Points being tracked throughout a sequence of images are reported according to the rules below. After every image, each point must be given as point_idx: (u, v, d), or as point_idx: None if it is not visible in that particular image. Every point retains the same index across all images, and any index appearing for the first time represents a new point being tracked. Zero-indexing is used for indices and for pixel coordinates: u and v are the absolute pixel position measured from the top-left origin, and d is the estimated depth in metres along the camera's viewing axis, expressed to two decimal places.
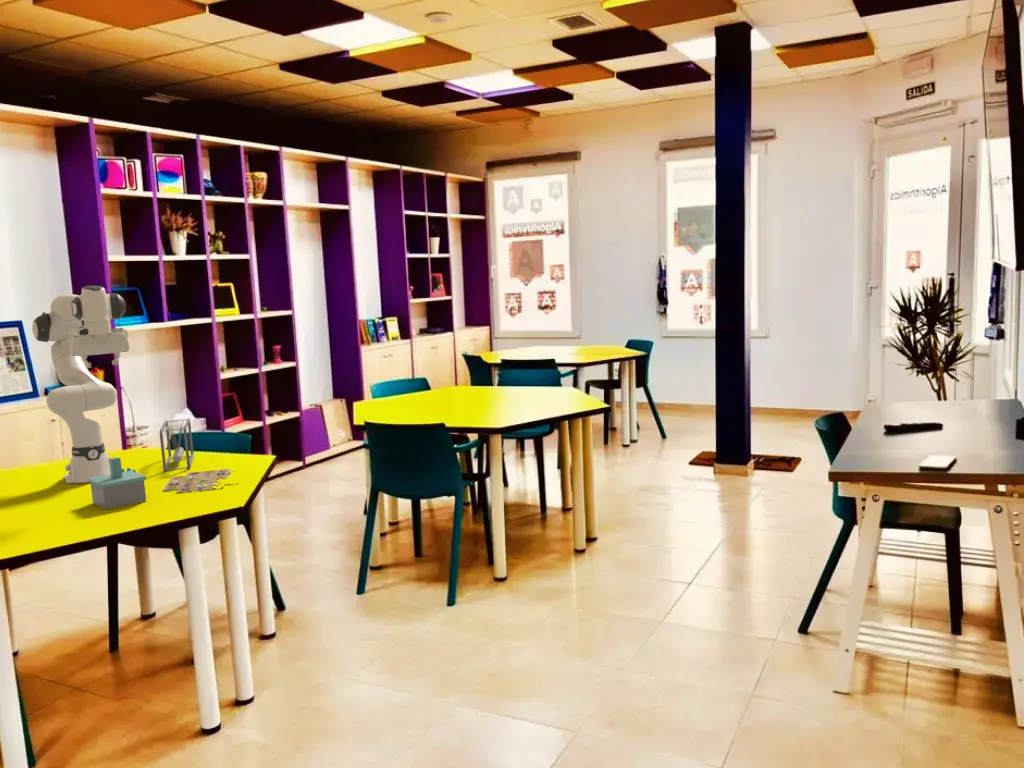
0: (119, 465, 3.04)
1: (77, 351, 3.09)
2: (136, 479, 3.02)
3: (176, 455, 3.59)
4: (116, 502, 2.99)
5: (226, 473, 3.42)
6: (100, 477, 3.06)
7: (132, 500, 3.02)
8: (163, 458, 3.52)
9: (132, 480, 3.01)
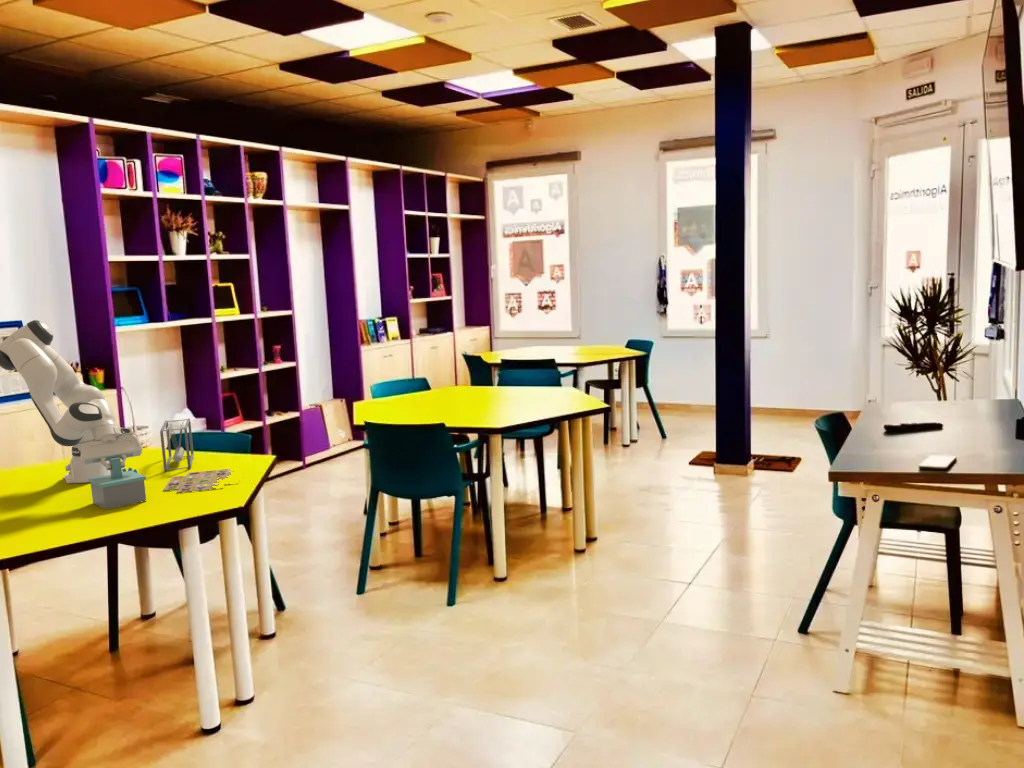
0: (119, 465, 3.04)
1: None
2: (136, 479, 3.02)
3: (177, 455, 3.59)
4: (116, 502, 2.99)
5: (226, 473, 3.42)
6: (100, 477, 3.06)
7: (132, 500, 3.02)
8: (164, 458, 3.52)
9: (132, 480, 3.01)
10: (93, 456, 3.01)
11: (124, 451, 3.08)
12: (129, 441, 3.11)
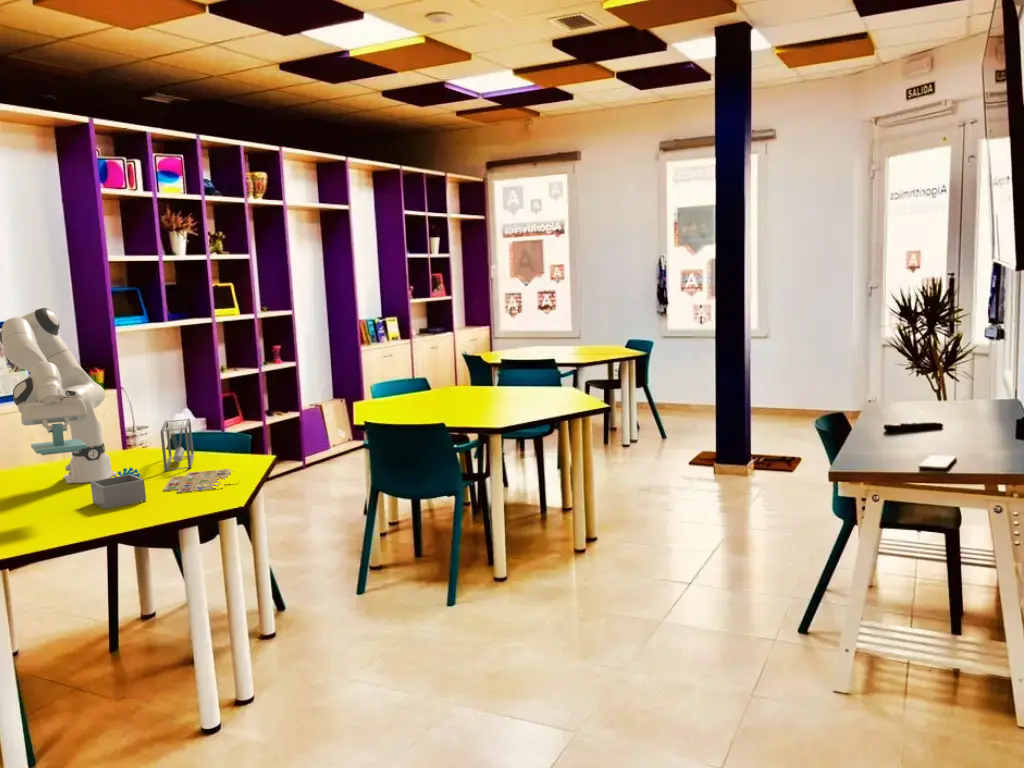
0: (61, 431, 2.90)
1: None
2: (76, 447, 2.88)
3: (177, 455, 3.59)
4: (116, 502, 2.99)
5: (226, 473, 3.42)
6: (43, 443, 2.94)
7: (132, 500, 3.02)
8: (164, 458, 3.52)
9: (71, 448, 2.87)
10: (34, 418, 2.88)
11: (67, 414, 2.94)
12: (73, 404, 2.98)
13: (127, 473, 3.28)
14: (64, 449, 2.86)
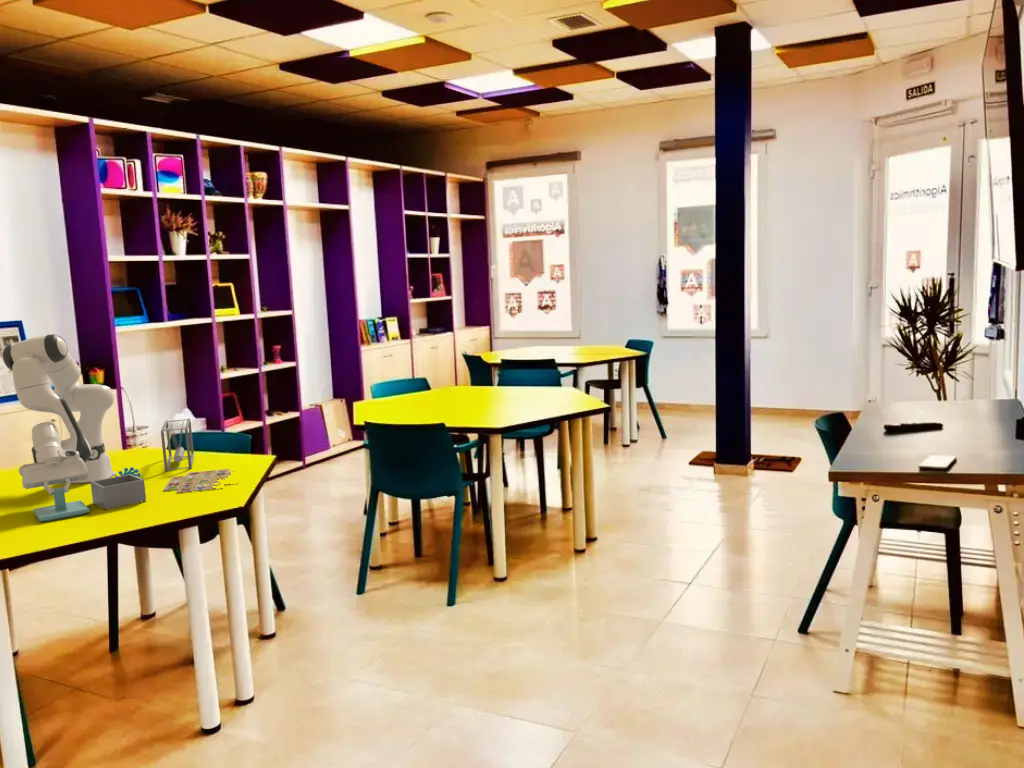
0: (62, 496, 2.92)
1: None
2: (78, 511, 2.90)
3: (177, 455, 3.59)
4: (116, 502, 2.99)
5: (226, 473, 3.42)
6: (45, 508, 2.95)
7: (132, 500, 3.02)
8: (164, 458, 3.52)
9: (74, 512, 2.89)
10: (35, 481, 2.89)
11: (68, 475, 2.95)
12: (74, 464, 2.99)
13: (128, 473, 3.28)
14: (66, 514, 2.88)
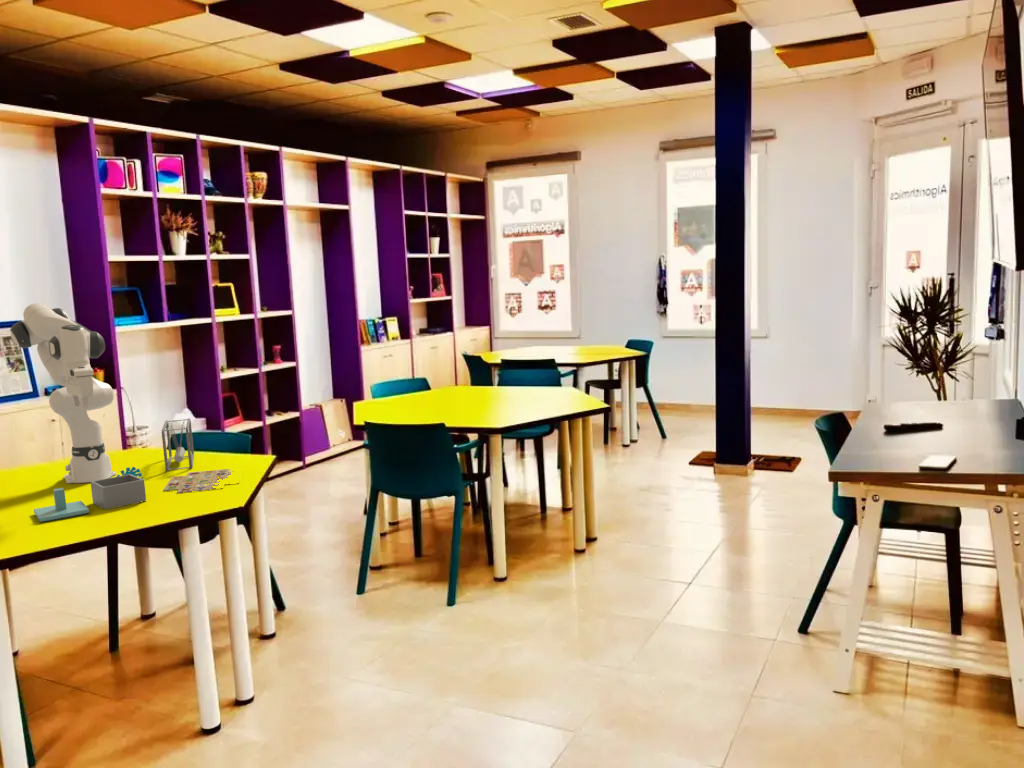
0: (63, 497, 2.92)
1: None
2: (78, 512, 2.90)
3: (178, 455, 3.59)
4: (116, 502, 2.99)
5: (226, 473, 3.42)
6: (45, 508, 2.95)
7: (132, 500, 3.02)
8: (165, 458, 3.52)
9: (74, 513, 2.89)
10: (69, 393, 3.12)
11: (77, 394, 3.05)
12: None
13: (129, 472, 3.29)
14: (67, 515, 2.88)
